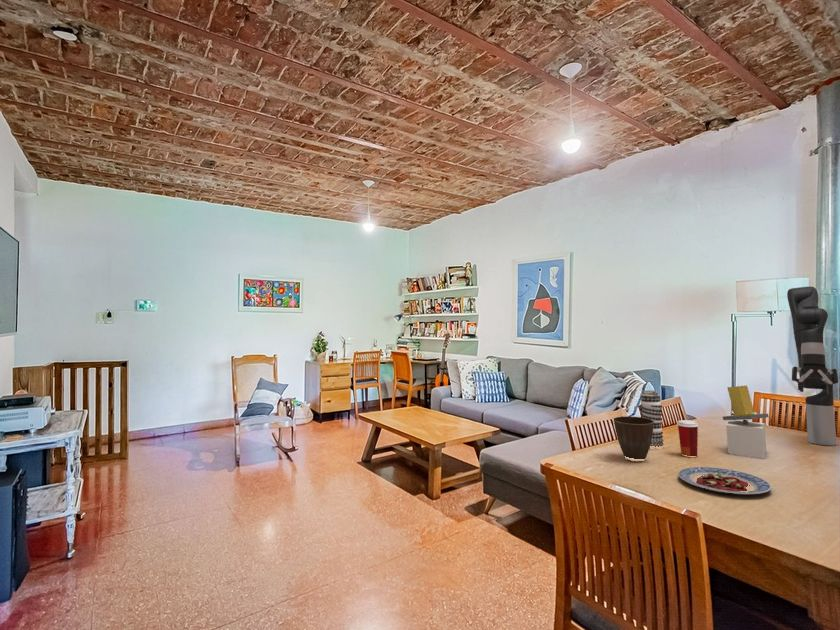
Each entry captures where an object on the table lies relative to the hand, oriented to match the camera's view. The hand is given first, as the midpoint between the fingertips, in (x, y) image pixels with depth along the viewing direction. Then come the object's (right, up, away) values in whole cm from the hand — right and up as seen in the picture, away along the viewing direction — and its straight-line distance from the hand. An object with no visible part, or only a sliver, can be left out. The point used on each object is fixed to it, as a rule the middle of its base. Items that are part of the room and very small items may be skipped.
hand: (815, 392), depth 179 cm
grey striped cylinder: (-60, -27, +14) cm, 67 cm away
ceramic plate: (-62, -26, -34) cm, 75 cm away
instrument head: (-28, -10, +2) cm, 30 cm away
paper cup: (-53, -26, 0) cm, 59 cm away
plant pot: (-77, -27, -3) cm, 81 cm away
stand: (-27, -25, +1) cm, 37 cm away
